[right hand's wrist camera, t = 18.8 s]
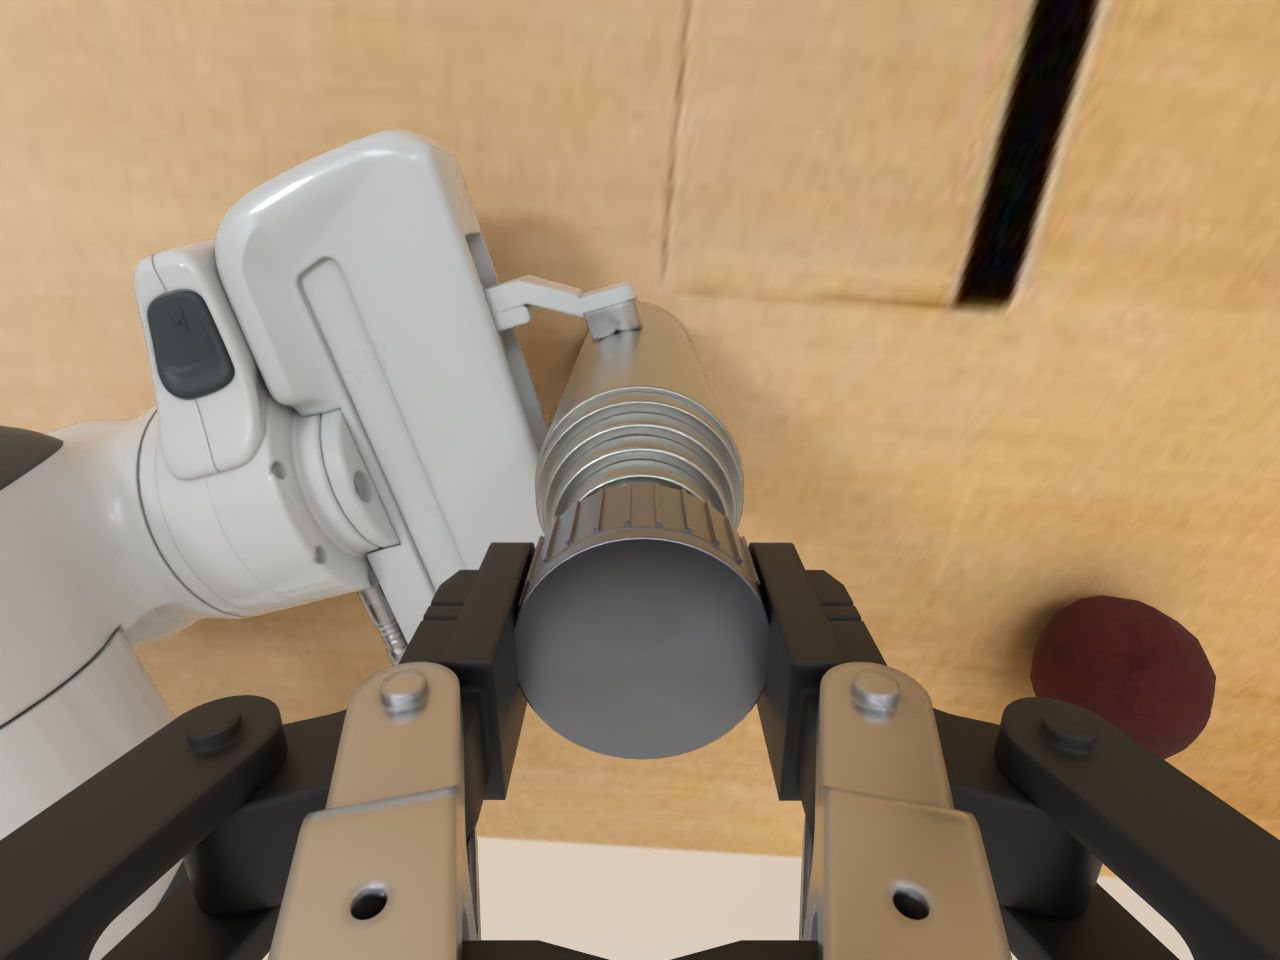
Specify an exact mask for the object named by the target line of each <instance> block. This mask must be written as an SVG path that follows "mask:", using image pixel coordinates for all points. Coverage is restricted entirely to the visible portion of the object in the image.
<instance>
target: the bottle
mask: <svg viewBox="0 0 1280 960" xmlns="http://www.w3.org/2000/svg"><path fill="white" fill-rule="evenodd" d="M639 307H640V311H641V315H642V319H643V325H642V326H641V327H639V328H636V329H633V330H628V331H623V332H622V331H619V330H615V331H614V333H613V334H612V335H609V336H607V337H605V338H601V339H597V340H594V341H592V338H591V335H590V332H589V331H588V333H587V335H586V337H585V340H584V342H583V345H582V347H581V350H580V352H579V355H578V357H577V360H576V362H575V365H574V368H573V370H572V373H571V375H570V378H569V380H568V383H567V385H566V388H565V390H564V393H563V395H562V398H561V400H560V403H559V405H558V408H557V410H556V413H555V416H554V418H553V421H552V423H551V426H550V428H549V431H548V433H547V436H546V438H545V441H544V443H543V446H542V448H541V451H540V454H539V458H538V461H537V465H536V472H535V493H536V509H537V516H538V519H539V523H540V526H541V529H542V531H543V533H544V535H545V534H546V533H547V531H548V530H549V528H550V527H551V526H552V523H553V520H554V518H555V517H556V516H558V517H560V516H561V515H562V514H563V513H565V512H566V511H567V510H568V509H569V508H571V507H572V506H573V505H574V502H575V501H576V500H579V501H582V500H583V499H585V498H587V497H589V496H592V495H594V494H596V493H598V491H599V489H602V488H603V489H604V491H605V490H608V489H611V488H616V487H619V486H626V483H631V485H654V483H659V486H663V487H668V488H673V489H676V490H679V491H681V489H685V490H686V491H687V493H688V494H690V495H693V496H695V497H697V498H699V499H701V500H703V501H704V502H706V500H708V501H710V502H711V505H712V507H714V508H715V509H716V510H717V511H718V512H719V513H721V514H722V515H723V516H724V517H725V518H726V517H727V516H728V517H729V518H730V519H731V521H732V524H733V527H734V528H735V530H737V528H738V525H739V522H740V518H741V515H742V509H743V500H744V497H743V488H744V479H743V468H742V463H741V459H740V456H739V452H738V449H737V447H736V445H735V442H734V440H733V438H732V435H731V433H730V431H729V429H728V426H727V424H726V422H725V420H724V417H723V415H722V413H721V410H720V408H719V406H718V404H717V401H716V399H715V397H714V395H713V392H712V390H711V388H710V386H709V383H708V381H707V379H706V376H705V374H704V372H703V370H702V367H701V365H700V363H699V361H698V358H697V356H696V354H695V352H694V349H693V347H692V345H691V342H690V340H689V338H688V336H687V334H686V332H685V330H684V328H683V327H682V325H681V324H680V323H679V322H678V320H677V319H676V318H675V317H673V316H672V315H671V314H670V313H668V312H667V311H665V310H664V309H662V308H660V307H657V306H654V305H651V304H647V303H639Z"/></svg>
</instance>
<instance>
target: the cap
mask: <svg viewBox="0 0 1280 960" xmlns="http://www.w3.org/2000/svg"><path fill="white" fill-rule="evenodd" d="M758 585H760V581H759V578H758V575H757V572H756V569H755V566H754V563H753V560H752V557H751V554H750V551H749V548H748V545H747V542H746V539H745V537H744V536H743V537H740V536H739V534H738V533H737V531H736V530H735V528H734V527H733V524H732V521H731V519H730V518H729V517H728V516H727V517H726V518H725V517H724V516H723V515H722V514H721V513H719V512H718V511H717V510H716V509H715V508H714V507H712V505H711V502H710V501H708V500H706V502H704V501H703V500H701V499H699V498H697V497H695V496H693V495H690V494H688V493H687V491H686V490H685V489H681V491H679V490H676V489H673V488H668V487H663V486H659V483H654V485H631V483H626V486H619V487H616V488H611V489H608V490H605V491H604V489H603V488H602V489H599V491H598V493H596V494H594V495H592V496H589V497H587V498H585V499H583V500H582V501H579V500H576V501H575V502H574V505H573V506H572V507H571V508H569V509H568V510H567V511H566V512H565V513H563V514H562V515H561V516H560V517H558V516H556V517H555V518H554V520H553V523H552V526H551V527H550V528H549V530H548V531H547V533H546V534H545V536H544V537H543V536H540V537H539V539H538V543H537V546H536V549H535V552H534V555H533V559H532V562H531V565H530V568H529V571H528V575H527V578H526V581H525V586H524V590H523V593H522V596H521V599H520V602H519V610H518V613H517V616H516V620H515V623H514V629H515V643H516V657H517V670H518V682H519V686H520V688H521V691H522V693H523V695H524V697H525V698H526V700H527V701H528V703H529V704H530V706H531V707H532V709H533V710H534V711H535V712H536V713H537V715H538V716H539V717H540V718H541V719H542V720H543V721H544V722H545V723H546V724H547V725H548V726H550V727H551V728H552V729H553V730H554V731H556V732H557V733H559V734H560V735H561V736H563V737H564V738H566V739H568V740H570V741H571V742H573V743H575V744H577V745H579V746H581V747H584V748H586V749H589V750H591V751H594V752H597V753H601V754H605V755H608V756H613V757H620V758H626V759H658V758H665V757H671V756H676V755H680V754H683V753H687V752H690V751H693V750H696V749H698V748H701V747H703V746H705V745H707V744H709V743H711V742H713V741H715V740H717V739H718V738H720V737H721V736H723V735H724V734H726V733H727V732H729V731H730V730H731V729H733V728H734V727H735V726H736V725H737V724H738V723H739V722H741V721H742V720H743V719H744V717H745V716H746V715H747V714H748V713H749V712H750V711H751V710H752V708H753V707H754V705H755V704H756V702H757V701H758V699H759V698H760V696H761V694H762V692H763V690H764V688H765V681H766V668H767V655H768V642H769V629H770V620H769V617H768V613H767V610H766V607H765V604H764V601H763V598H762V595H761V592H760V589H759V586H758Z"/></svg>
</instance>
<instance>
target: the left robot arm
mask: <svg viewBox="0 0 1280 960" xmlns="http://www.w3.org/2000/svg"><path fill="white" fill-rule="evenodd" d="M134 288H135V294H136V299H137V304H138V309H139V313H140V318H141V322H142V327H143V331H144V336H145V341H146V346H147V351H148V356H149V361H150V367H151V372H152V379H153V385H154V391H155V399H156V405H155V406H153V407H152V408H151V409H149V410H148V411H146V412H145V413H144V414H142V415H140V416H138V417H136V418H133V419H128V420H123V419H100V420H91V421H86V422H80V423H77V424H73V425H70V426H66V427H62V428H59V429H56V430H52V431H49V432H46V433H43V434H42V433H38V432H34V431H30V430H25V429H20V428H13V427H6V426H0V840H2V839H3V838H4V837H6V836H7V835H9V834H10V833H12V832H13V831H15V830H16V829H17V828H19V827H20V826H22V825H23V824H25V823H26V822H27V821H29V820H30V819H32V818H33V817H35V816H36V815H38V814H39V813H40V812H42V811H43V810H45V809H46V808H48V807H49V806H51V805H52V804H53V803H55V802H56V801H58V800H59V799H61V798H62V797H63V796H65V795H66V794H68V793H69V792H71V791H72V790H74V789H75V788H76V787H78V786H79V785H81V784H82V783H84V782H85V781H86V780H88V779H89V778H91V777H92V776H94V775H95V774H97V773H98V772H99V771H101V770H102V769H104V768H105V767H107V766H108V765H110V764H111V763H112V762H114V761H115V760H117V759H118V758H120V757H121V756H122V755H124V754H125V753H127V752H128V751H130V750H131V749H133V748H134V747H135V746H137V745H138V744H140V743H141V742H143V741H144V740H146V739H147V738H148V737H150V736H151V735H153V734H154V733H156V732H157V731H158V730H160V729H161V728H163V727H164V726H166V725H167V724H169V723H170V722H171V721H173V720H174V719H176V717H175V715H174V714H173V712H172V710H171V709H170V707H169V706H168V704H167V702H166V701H165V699H164V698H163V696H162V694H161V693H160V691H159V690H158V688H157V686H156V685H155V683H154V682H153V680H152V678H151V677H150V675H149V674H148V672H147V670H146V669H145V667H144V666H143V664H142V662H141V661H140V659H139V658H138V656H137V654H136V653H135V651H134V649H133V648H132V647H133V646H138V645H142V644H146V643H150V642H154V641H157V640H160V639H163V638H166V637H169V636H172V635H174V634H176V633H178V632H180V631H182V630H184V629H185V628H187V627H189V626H191V625H192V624H194V623H195V622H197V621H199V620H201V619H205V618H219V619H242V618H249V617H255V616H260V615H264V614H268V613H272V612H276V611H280V610H284V609H288V608H292V607H296V606H300V605H304V604H308V603H312V602H316V601H319V600H324V599H328V598H332V597H336V596H340V595H344V594H348V593H352V592H357V593H358V595H359V598H360V600H361V602H362V604H363V606H364V608H365V610H366V612H367V614H368V616H369V618H370V620H371V621H372V623H373V625H374V626H375V628H376V629H377V630H378V632H379V634H380V635H381V637H382V639H383V640H384V643H385V645H386V647H387V648H386V651H387V655H388V657H389V659H390V661H391V663H392V665H393V666H395V665H398V663H399V661H400V660H401V658H402V656H403V654H404V652H405V650H406V648H407V646H408V644H409V643H410V641H411V639H412V637H413V635H414V633H415V631H416V629H417V627H418V626H419V624H420V622H421V621H423V616H424V614H425V612H426V611H427V609H428V607H429V606H431V601H432V599H433V597H434V595H435V594H436V592H437V590H438V588H439V586H440V585H441V584H442V583H443V582H445V581H446V580H447V579H449V578H450V577H451V576H452V575H454V574H455V573H456V572H458V571H459V570H479V568H480V566H481V563H482V561H483V559H484V557H485V554H486V552H487V550H488V548H489V545H490V544H491V543H492V542H533V543H534V545H535V549H536V546H537V543H538V539H539V537H540V536H543V537H544V536H545V535H544V533H543V531H542V529H541V526H540V523H539V519H538V516H537V509H536V493H535V472H536V465H537V461H538V458H539V454H540V451H541V448H542V446H543V443H544V441H545V438H546V436H547V433H548V431H549V428H548V425H547V422H546V420H545V417H544V414H543V411H542V408H541V405H540V402H539V399H538V396H537V393H536V390H535V387H534V384H533V381H532V378H531V375H530V372H529V369H528V366H527V363H526V360H525V357H524V355H523V352H522V349H521V346H520V343H519V340H518V337H517V334H516V331H515V328H514V327H515V326H519V325H522V324H526V323H528V322H529V321H530V320H532V319H533V318H534V317H535V316H536V315H537V314H538V312H539V307H541V308H545V309H549V310H553V311H557V312H561V313H566V314H570V315H574V316H578V317H582V318H584V317H585V320H586V323H587V326H588V329H589V332H590V335H591V338H592V341H594V340H597V339H601V338H605V337H607V336H609V335H612V334H613V333H614V331H615V330H619V331H622V332H623V331H628V330H633V329H636V328H639V327H641V326H642V325H643V319H642V315H641V311H640V307H639V303H638V299H637V295H636V292H635V288H634V285H633V281H632V280H628V281H622V282H619V283H615V284H612V285H608V286H605V287H601V288H598V289H594V290H591V291H587V292H584V293H583V290H582V289H580V288H576V287H572V286H569V285H565V284H561V283H558V282H554V281H550V280H547V279H543V278H539V277H535V276H532V275H526V276H522V277H519V278H515V279H512V280H508V281H505V282H502V283H499V281H498V278H497V275H496V272H495V269H494V266H493V263H492V260H491V257H490V254H489V251H488V248H487V245H486V242H485V239H484V236H483V233H482V230H481V227H480V224H479V221H478V219H477V216H476V213H475V210H474V207H473V204H472V201H471V198H470V195H469V192H468V189H467V186H466V183H465V180H464V177H463V174H462V171H461V168H460V165H459V162H458V160H457V158H456V156H455V154H454V153H453V152H452V151H451V150H450V149H448V148H446V147H445V146H443V145H441V144H439V143H438V142H436V141H434V140H432V139H431V138H428V137H426V136H424V135H422V134H419V133H417V132H414V131H409V130H402V129H392V130H386V131H381V132H378V133H375V134H371V135H368V136H365V137H362V138H359V139H357V140H354V141H352V142H349V143H347V144H344V145H341V146H339V147H336V148H334V149H332V150H329V151H327V152H325V153H322V154H320V155H318V156H315V157H313V158H311V159H309V160H307V161H305V162H303V163H301V164H299V165H297V166H294V167H292V168H291V169H289V170H287V171H285V172H283V173H281V174H279V175H277V176H275V177H274V178H272V179H270V180H268V181H266V182H264V183H263V184H261V185H259V186H257V187H256V188H254V189H253V190H251V191H250V192H248V193H247V194H245V195H244V196H243V197H242V198H240V199H239V200H238V201H237V202H236V203H235V204H234V205H233V206H232V207H231V208H230V209H229V210H228V212H227V213H226V214H225V216H224V218H223V219H222V221H221V223H220V226H219V228H218V231H217V235H216V239H213V240H205V241H199V242H194V243H190V244H185V245H181V246H177V247H174V248H171V249H167V250H164V251H161V252H159V253H156V254H153V255H150V256H148V257H146V258H144V259H143V260H142V261H140V262H139V263H138V265H137V266H136V269H135V273H134ZM188 878H189V877H188V874H187V871H186V867H185V864H184V861H183V858H182V859H181V860H180V861H179V862H178V863H177V864H176V865H175V866H173V867H172V868H171V869H170V870H169V871H168V872H167V873H166V874H164V875H163V876H162V877H161V878H160V879H159V880H158V881H157V882H156V883H154V884H153V885H152V886H151V887H150V888H149V889H148V890H147V891H145V892H144V893H143V894H142V895H141V896H140V897H139V898H138V899H137V900H135V901H134V902H133V903H132V904H131V905H130V906H129V907H128V908H126V909H125V910H124V911H123V912H122V913H121V914H120V915H119V916H118V917H116V918H115V919H114V920H113V921H112V922H111V923H110V924H109V926H108V927H107V928H106V929H105V930H104V932H103V933H102V934H101V936H100V937H99V939H98V941H97V942H96V944H95V946H94V948H93V950H92V952H91V955H90V958H89V960H101V959H102V958H103V957H104V956H105V955H106V954H107V953H108V952H109V951H110V950H111V949H112V948H114V947H115V946H116V945H117V944H118V943H119V942H120V941H121V940H122V939H123V938H124V937H125V936H126V935H128V934H129V933H130V932H131V931H132V930H133V929H134V928H135V927H136V926H137V925H138V924H139V923H140V922H142V921H143V920H144V919H145V918H146V917H147V916H148V915H149V914H150V913H151V912H152V911H153V910H154V909H156V908H157V907H158V906H159V905H160V904H161V903H162V902H163V901H164V900H165V899H166V898H167V897H168V896H170V895H171V894H172V893H173V892H174V891H175V890H176V889H177V888H178V887H179V886H180V885H181V884H182V883H184V882H185V881H186V880H187V879H188Z"/></svg>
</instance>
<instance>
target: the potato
mask: <svg viewBox="0 0 1280 960" xmlns="http://www.w3.org/2000/svg"><path fill="white" fill-rule="evenodd" d="M1030 678H1031V682H1032V686H1033V690H1034V693H1035V695H1036V697H1044V698H1051V699H1057V700H1061V701H1065V702H1069V703H1072V704H1075V705H1078V706H1080V707H1083V708H1085V709H1087V710H1089V711H1091V712H1093V713H1095V714H1097V715H1099V716H1101V717H1102V718H1104V719H1105V720H1107V721H1109V722H1110V723H1111V724H1113V725H1114V726H1116V727H1117V728H1119V729H1120V730H1122V731H1123V732H1124V733H1126V734H1127V735H1129V736H1130V737H1132V738H1133V739H1135V740H1136V741H1137V742H1139V743H1140V744H1142V745H1143V746H1145V747H1146V748H1147V749H1149V750H1150V751H1152V752H1153V753H1155V754H1156V755H1158V756H1159V757H1160V758H1162V759H1163V760H1164V759H1166V758H1168V757H1170V756H1172V755H1174V754H1177V753H1179V752H1181V751H1183V750H1184V749H1186V748H1187V747H1188V746H1189V745H1190V744H1191V743H1192V742H1193V741H1194V740H1195V739H1196V738H1197V737H1198V736H1199V734H1200V733H1201V732H1202V731H1203V729H1204V728H1205V726H1206V724H1207V722H1208V719H1209V717H1210V714H1211V709H1212V703H1213V698H1214V691H1215V682H1216V676H1215V673H1214V671H1213V669H1212V667H1211V665H1210V663H1209V661H1208V659H1207V656H1206V654H1205V652H1204V650H1203V649H1202V647H1201V645H1200V643H1199V641H1198V639H1197V638H1196V637H1195V636H1193V635H1192V634H1191V633H1190V632H1189V631H1188V630H1187V629H1185V628H1184V627H1183V626H1182V625H1181V624H1180V623H1179V622H1177V621H1176V620H1174V619H1172V618H1170V617H1169V616H1167V615H1165V614H1164V613H1162V612H1160V611H1158V610H1157V609H1155V608H1153V607H1151V606H1149V605H1147V604H1144V603H1142V602H1140V601H1136V600H1129V599H1123V598H1116V597H1109V596H1102V595H1101V596H1096V597H1091V598H1085V599H1080V600H1078V601H1076V602H1075V603H1073V604H1071V605H1069V606H1067V607H1065V608H1064V609H1062V610H1061V611H1060V612H1059V613H1058V614H1057V615H1056V616H1055V617H1053V618H1052V619H1051V620H1050V621H1049V623H1048V624H1047V625H1046V627H1045V629H1044V631H1043V633H1042V634H1041V636H1040V638H1039V640H1038V642H1037V643H1036V647H1035V650H1034V654H1033V661H1032V669H1031V676H1030Z"/></svg>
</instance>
